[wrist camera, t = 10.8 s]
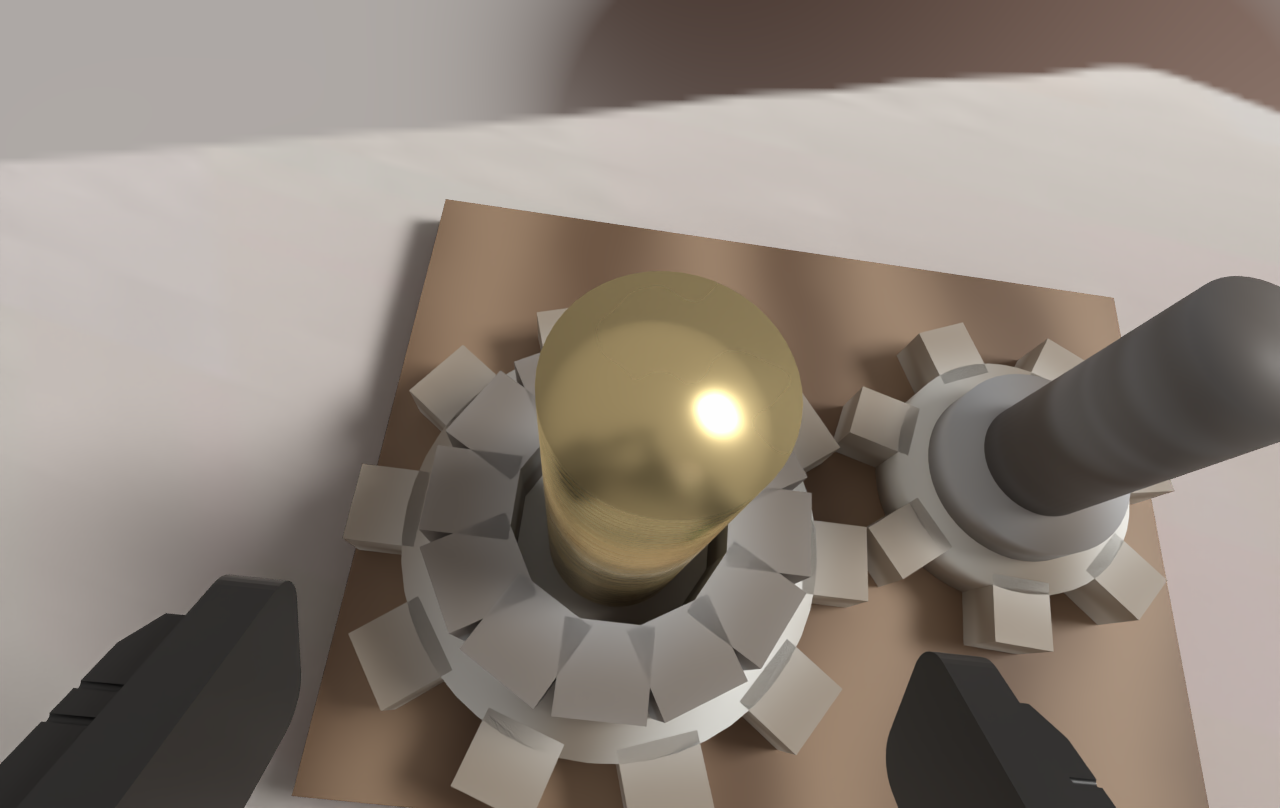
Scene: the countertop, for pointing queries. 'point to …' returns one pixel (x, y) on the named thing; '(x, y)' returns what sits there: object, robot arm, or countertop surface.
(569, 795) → the gear board
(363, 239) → the countertop surface
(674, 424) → the brass axle
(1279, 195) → the countertop surface
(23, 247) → the countertop surface
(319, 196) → the countertop surface
